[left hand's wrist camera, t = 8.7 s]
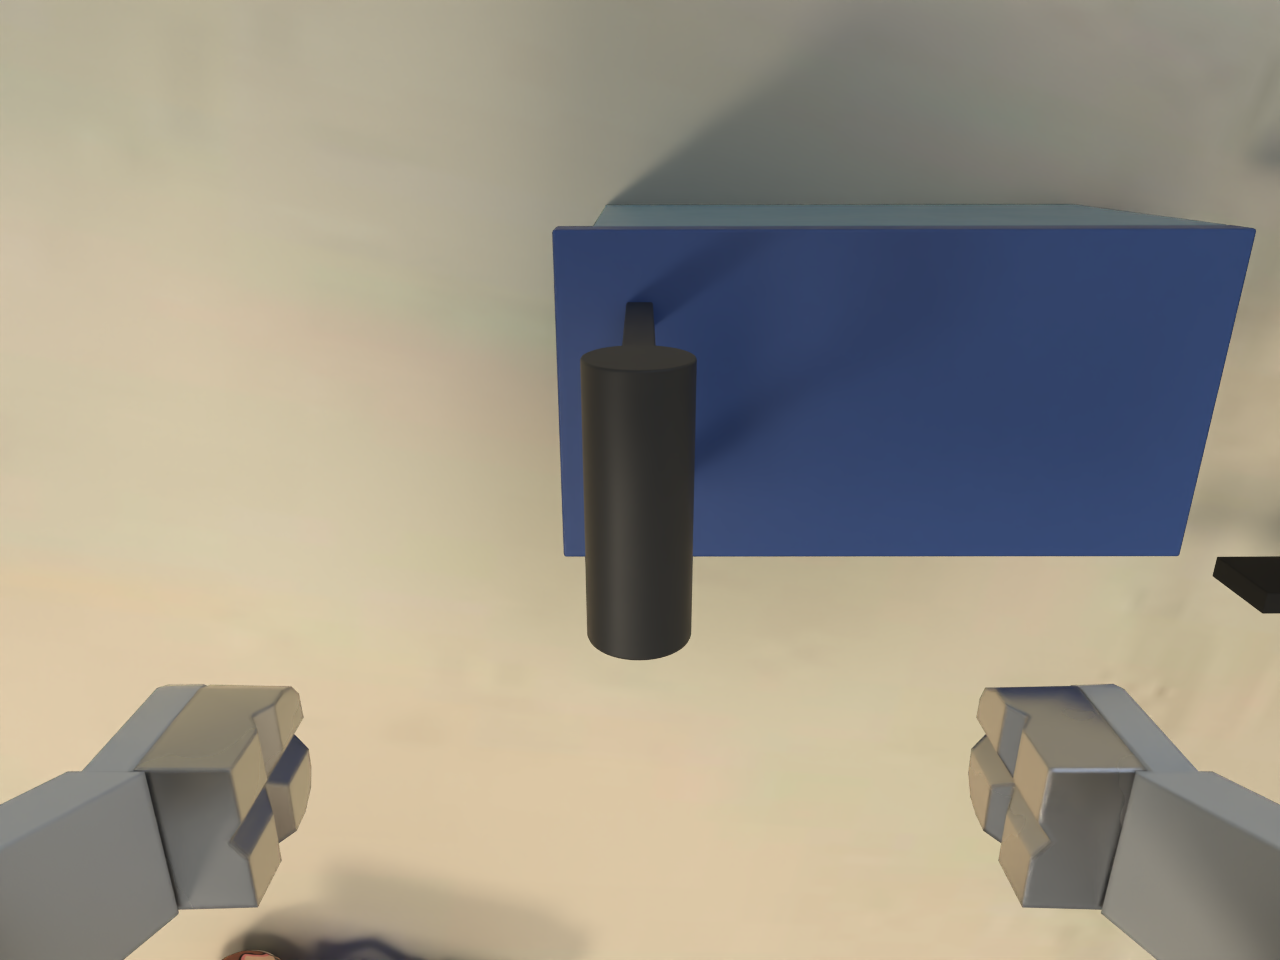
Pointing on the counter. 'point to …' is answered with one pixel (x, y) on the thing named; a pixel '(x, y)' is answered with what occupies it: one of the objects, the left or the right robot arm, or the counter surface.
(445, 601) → the counter surface
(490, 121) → the counter surface
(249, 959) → the figurine character
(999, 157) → the counter surface
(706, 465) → the lid
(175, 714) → the left robot arm
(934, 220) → the chest
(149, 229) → the counter surface
